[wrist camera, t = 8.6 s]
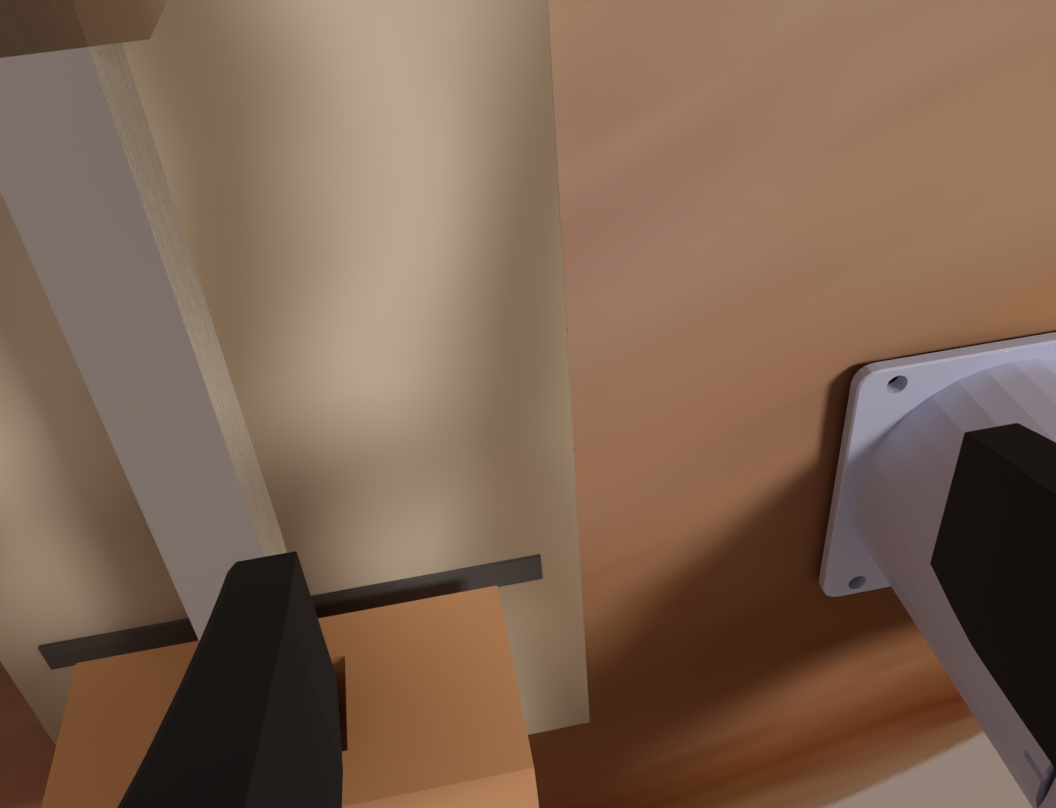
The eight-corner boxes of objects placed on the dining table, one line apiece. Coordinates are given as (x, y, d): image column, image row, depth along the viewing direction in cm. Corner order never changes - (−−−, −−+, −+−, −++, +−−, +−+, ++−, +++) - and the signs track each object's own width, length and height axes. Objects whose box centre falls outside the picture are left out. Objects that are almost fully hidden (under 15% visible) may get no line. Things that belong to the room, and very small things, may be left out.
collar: (497, 585, 22) (534, 767, 19) (511, 689, 25) (547, 869, 21) (76, 662, 21) (25, 871, 18) (134, 763, 24) (99, 965, 20)
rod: (77, -112, 12) (45, -86, 10) (381, 832, 25) (384, 897, 24) (-69, -96, 11) (-121, -68, 10) (315, 846, 25) (315, 912, 23)
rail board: (520, -273, 14) (603, -257, 10) (582, 694, 29) (627, 863, 25) (-486, -173, 13) (-863, -108, 9) (110, 787, 28) (73, 983, 23)
